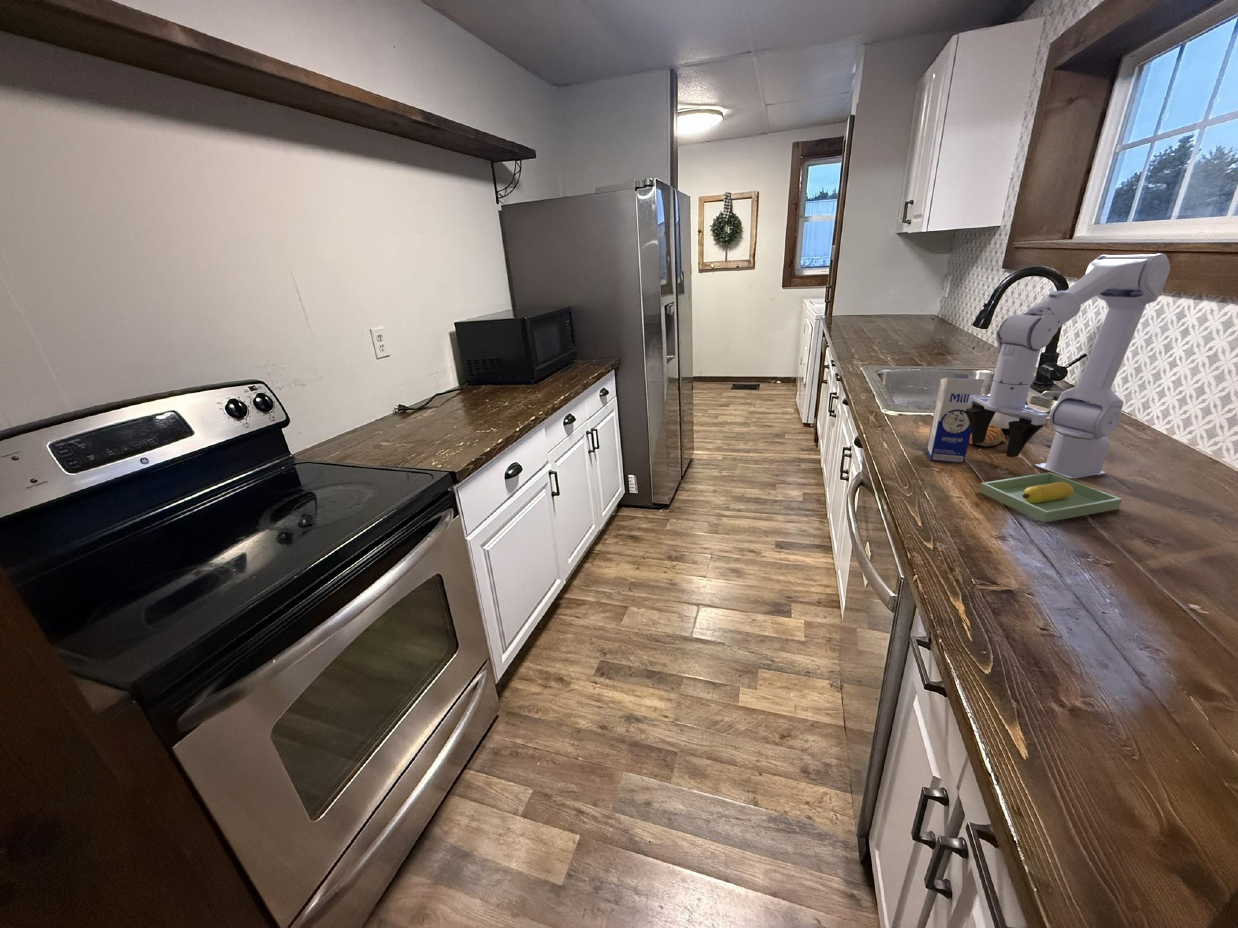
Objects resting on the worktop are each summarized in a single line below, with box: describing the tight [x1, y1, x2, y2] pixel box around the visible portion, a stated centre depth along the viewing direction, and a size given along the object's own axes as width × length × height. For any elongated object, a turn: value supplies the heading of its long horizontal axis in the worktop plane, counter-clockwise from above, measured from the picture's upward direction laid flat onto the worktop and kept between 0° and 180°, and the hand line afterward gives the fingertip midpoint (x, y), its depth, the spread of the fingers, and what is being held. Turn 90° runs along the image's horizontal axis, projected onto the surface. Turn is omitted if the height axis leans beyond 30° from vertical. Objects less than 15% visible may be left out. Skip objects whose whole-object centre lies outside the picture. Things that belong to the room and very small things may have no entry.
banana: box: [1022, 482, 1073, 503], centre depth 95 cm, size 11×3×3 cm, turn 103°
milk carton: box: [925, 373, 985, 464], centre depth 115 cm, size 7×7×20 cm
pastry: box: [969, 425, 1006, 448], centre depth 126 cm, size 9×7×4 cm
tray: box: [978, 471, 1123, 524], centre depth 96 cm, size 17×13×3 cm
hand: (994, 449), depth 98 cm, fingers open, 7 cm apart
